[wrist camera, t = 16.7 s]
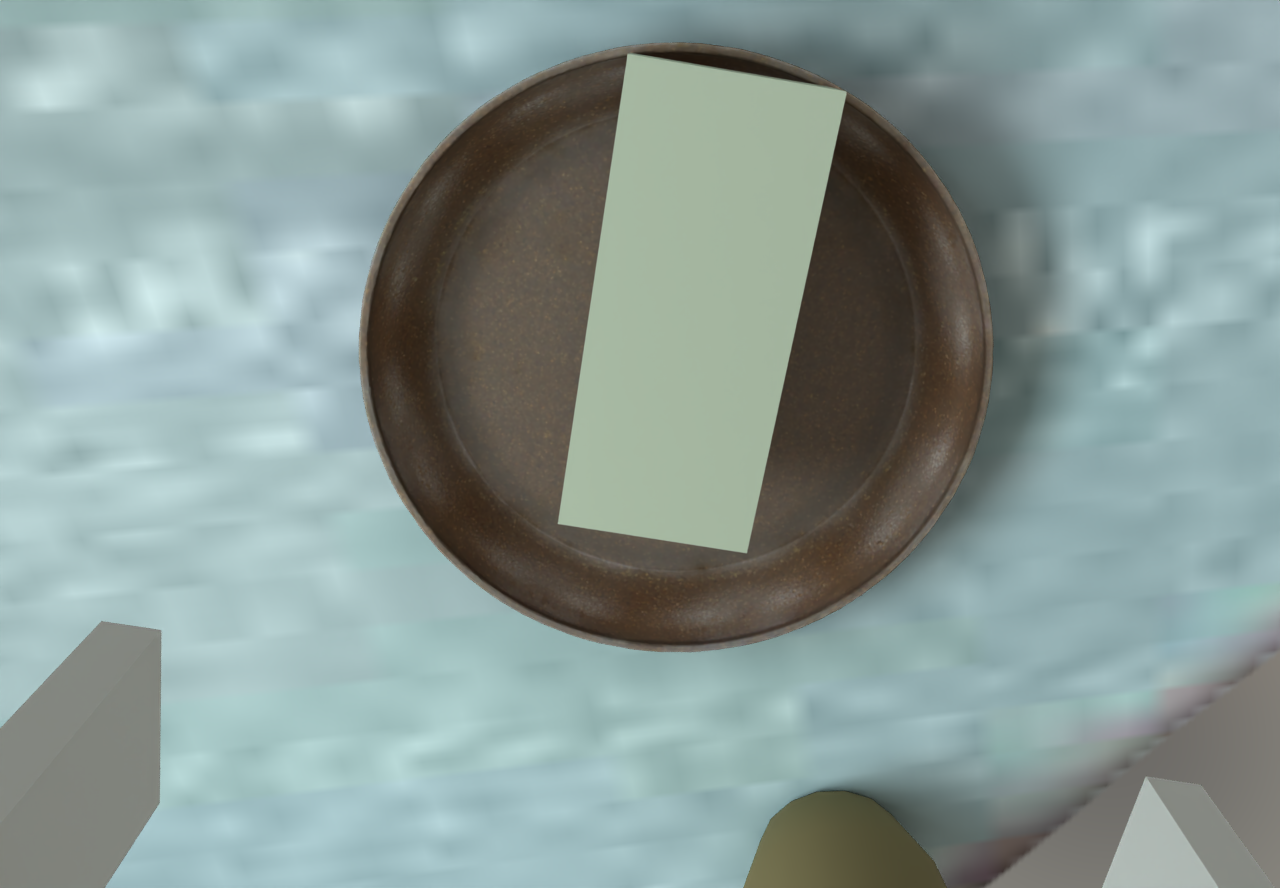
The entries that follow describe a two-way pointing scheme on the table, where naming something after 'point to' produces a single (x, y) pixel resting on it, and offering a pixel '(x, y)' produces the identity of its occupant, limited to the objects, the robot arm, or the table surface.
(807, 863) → the squeeze bottle
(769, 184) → the bar
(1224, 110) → the table surface
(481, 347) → the plant saucer
